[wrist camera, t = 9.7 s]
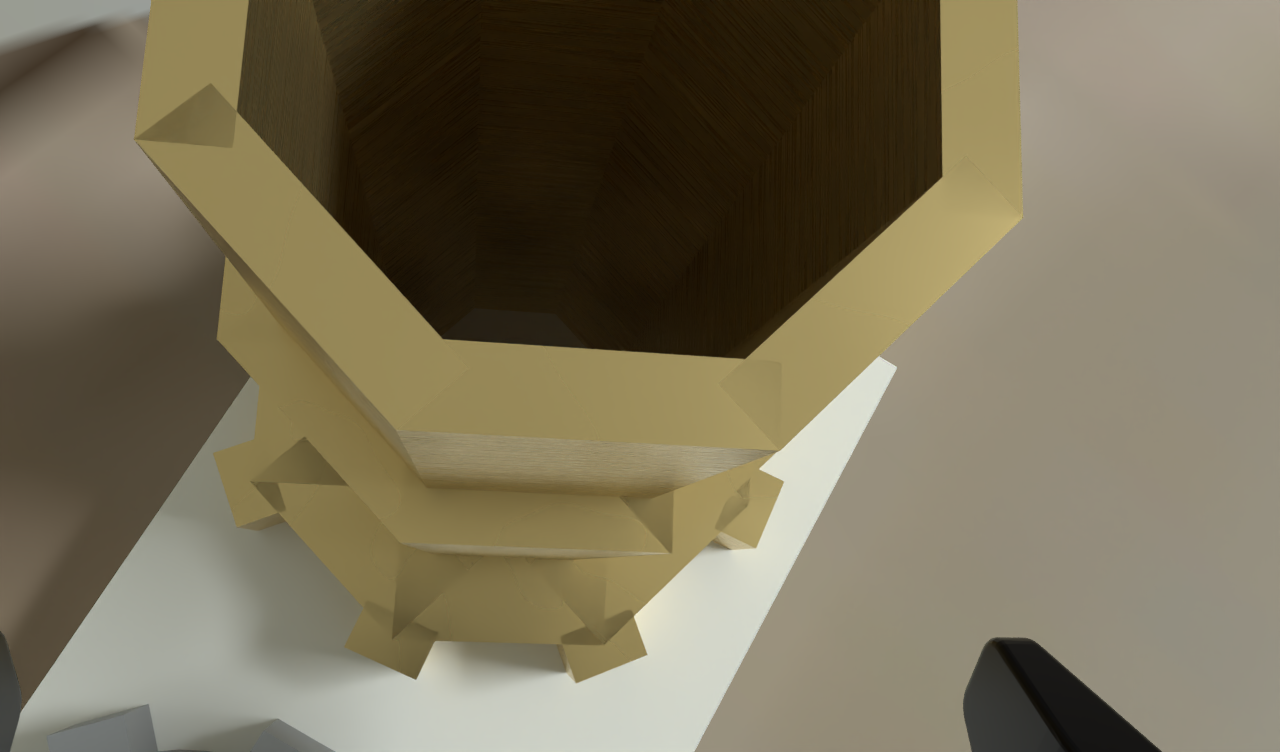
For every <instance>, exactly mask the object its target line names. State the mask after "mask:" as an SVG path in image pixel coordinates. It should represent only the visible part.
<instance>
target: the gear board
mask: <svg viewBox="0 0 1280 752" xmlns="http://www.w3.org/2000/svg"><path fill="white" fill-rule="evenodd" d="M441 338H442V339H448V340H463V341H478V342H493V343H508V344H523V345H539V346H554V347H569V348H584V349H587V348H586V347H585V346H584V345H583V344H582V343H581V341H580V340H579V339H578V338H577V337H576V336H575V335H574V334H573V333H572V332H571V330H570V329H569V328H568V327H567V326H566V325H565V324H564V323H563V322H562V321H561V319H560V318H559V317H558V316H557V315H556V314H551V313H536V312H522V311H508V310H494V309H479V308H474V309H473V310H472V311H471V312H469V313H468V314H467V315H466V316H465V317H463V318H462V319H461V320H460V321H459V322H457V323H456V324H455V325H454V326H453V327H452V328H450V329H449V330H448V331H447V332H446V333H444V334H443V335H442V336H441ZM896 369H897V367H896V366H894V365H892V364H891V363H889V362H888V361H886V360H884V359H883V358H881V357H879V356H878V357H877V358H876V359H875V360H874V361H873V362H872V363H871V364H870V365H869V366H868V367H867V368H866V369H865V370H864V371H863V372H862V373H861V374H860V375H859V376H858V377H857V378H856V379H854V380H853V381H852V382H851V383H850V384H849V385H848V386H847V387H846V388H845V389H844V390H843V391H842V392H841V393H840V394H839V395H838V396H837V397H836V398H835V399H834V400H833V401H832V402H831V403H829V404H828V405H827V406H826V407H825V408H824V409H823V410H822V411H821V412H820V413H819V414H818V415H817V416H816V417H815V418H814V419H813V420H812V421H811V422H810V423H809V424H808V425H807V426H806V427H804V428H803V429H802V430H801V431H800V432H799V433H798V434H797V435H796V436H795V437H794V438H793V439H792V440H791V441H790V442H789V443H788V444H787V445H786V446H785V447H784V448H783V449H782V450H781V451H779V452H776V453H775V454H774V455H773V456H772V457H771V458H770V459H769V460H768V461H767V462H766V463H765V464H764V465H763V466H762V467H761V468H760V469H759V470H762V471H764V472H766V473H768V474H770V475H772V476H774V477H776V478H778V479H780V480H782V481H784V484H783V486H782V488H781V491H780V493H779V495H778V498H777V500H776V503H775V505H774V507H773V510H772V512H771V514H770V517H769V519H768V521H767V524H766V526H765V529H764V531H763V533H762V536H761V538H760V540H759V543H758V545H757V547H756V548H755V549H739V550H730V549H728V548H726V547H724V546H722V545H720V544H717V543H715V542H713V541H711V542H710V543H709V544H708V545H707V546H706V547H705V548H704V549H703V550H702V551H701V552H700V553H699V554H698V555H697V556H696V557H695V558H694V559H693V560H691V561H690V562H689V563H688V564H687V565H686V566H685V567H684V568H683V569H682V570H681V571H680V572H679V573H678V574H677V575H676V576H675V577H674V578H673V579H672V580H671V581H670V582H669V583H668V584H667V585H666V586H665V587H664V588H663V589H662V590H660V591H659V592H658V593H657V594H656V595H655V596H654V597H653V598H652V599H651V600H650V601H649V602H648V603H647V604H646V605H645V606H644V607H643V608H642V609H641V610H640V611H639V612H638V613H637V614H636V615H635V616H634V618H635V621H636V624H637V627H638V630H639V632H640V635H641V638H642V641H643V643H644V646H645V649H646V652H647V655H646V656H644V657H641V658H639V659H636V660H634V661H631V662H629V663H626V664H624V665H621V666H619V667H616V668H614V669H611V670H609V671H606V672H604V673H601V674H599V675H596V676H594V677H591V678H589V679H586V680H584V681H581V682H579V683H575V682H574V681H573V680H572V679H571V677H570V676H569V675H568V674H567V673H566V670H565V668H564V665H563V662H562V659H561V656H560V653H559V651H558V648H557V645H556V644H530V643H493V642H456V641H435V642H434V644H433V646H432V648H431V650H430V652H429V654H428V656H427V659H426V661H425V663H424V665H423V667H422V669H421V671H420V673H419V675H418V677H417V679H416V680H415V679H413V678H411V677H408V676H406V675H404V674H402V673H400V672H397V671H395V670H393V669H391V668H389V667H386V666H384V665H382V664H380V663H378V662H375V661H373V660H371V659H369V658H367V657H364V656H362V655H360V654H358V653H356V652H353V651H351V650H349V649H347V648H345V647H344V646H345V644H346V642H347V640H348V638H349V636H350V634H351V632H352V630H353V628H354V626H355V624H356V622H357V620H358V618H359V616H360V614H361V612H362V610H363V607H362V606H361V605H360V604H359V603H358V601H357V600H356V599H355V598H354V597H353V596H352V595H351V594H350V592H349V591H348V590H347V589H346V588H345V587H344V586H343V585H342V584H341V582H340V581H339V580H338V579H337V578H336V577H335V576H334V575H333V574H332V572H331V571H330V570H329V569H328V568H327V567H326V566H325V565H324V563H323V562H322V561H321V560H320V559H319V558H318V557H317V556H316V555H315V553H314V552H313V551H312V550H311V549H310V548H309V547H308V546H307V545H306V543H305V542H304V541H303V540H302V539H301V538H300V537H299V536H298V534H297V533H296V532H295V531H294V530H293V529H292V528H291V527H290V526H289V524H288V523H287V522H286V521H285V522H282V523H280V524H277V525H274V526H271V527H268V528H265V529H262V530H259V531H256V530H250V529H244V528H238V527H236V524H235V521H234V517H233V514H232V511H231V508H230V505H229V502H228V499H227V496H226V493H225V489H224V486H223V483H222V480H221V477H220V474H219V471H218V468H217V465H216V461H215V458H214V455H213V453H214V452H217V451H220V450H223V449H226V448H229V447H232V446H235V445H238V444H241V443H244V442H247V441H251V440H254V435H255V425H256V415H257V405H258V395H259V385H258V384H257V383H256V382H255V381H254V380H253V378H252V377H250V378H249V379H248V381H247V382H246V384H245V385H244V387H243V388H242V390H241V391H240V393H239V394H238V396H237V397H236V398H235V400H234V401H233V403H232V404H231V406H230V407H229V409H228V410H227V412H226V413H225V415H224V416H223V417H222V419H221V420H220V422H219V423H218V425H217V426H216V428H215V429H214V431H213V432H212V434H211V435H210V436H209V438H208V439H207V441H206V442H205V444H204V445H203V447H202V448H201V450H200V451H199V452H198V454H197V455H196V457H195V458H194V460H193V461H192V463H191V464H190V466H189V467H188V469H187V470H186V471H185V473H184V474H183V476H182V477H181V479H180V480H179V482H178V483H177V485H176V486H175V488H174V489H173V490H172V492H171V493H170V495H169V496H168V498H167V499H166V501H165V502H164V504H163V505H162V507H161V508H160V509H159V511H158V512H157V514H156V515H155V517H154V518H153V520H152V521H151V523H150V524H149V526H148V527H147V528H146V530H145V531H144V533H143V534H142V536H141V537H140V539H139V540H138V542H137V543H136V545H135V546H134V547H133V549H132V550H131V552H130V553H129V555H128V556H127V558H126V559H125V561H124V562H123V564H122V565H121V566H120V568H119V569H118V571H117V572H116V574H115V575H114V577H113V578H112V580H111V581H110V583H109V584H108V585H107V587H106V588H105V590H104V591H103V593H102V594H101V596H100V597H99V599H98V600H97V602H96V603H95V604H94V606H93V607H92V609H91V610H90V612H89V613H88V615H87V616H86V618H85V619H84V621H83V622H82V623H81V625H80V626H79V628H78V629H77V631H76V632H75V634H74V635H73V637H72V638H71V640H70V641H69V642H68V644H67V645H66V647H65V648H64V650H63V651H62V653H61V654H60V656H59V657H58V659H57V660H56V661H55V663H54V664H53V666H52V667H51V669H50V670H49V672H48V673H47V675H46V676H45V678H44V679H43V680H42V682H41V683H40V685H39V686H38V688H37V689H36V691H35V692H34V694H33V695H32V696H31V698H30V699H29V701H28V702H27V704H26V705H25V707H24V708H23V710H22V711H21V713H20V717H19V722H18V725H17V729H16V732H15V736H14V739H13V743H12V746H11V750H10V752H694V751H695V749H696V747H697V745H698V743H699V741H700V740H701V738H702V736H703V734H704V732H705V730H706V728H707V726H708V724H709V723H710V721H711V719H712V717H713V715H714V713H715V711H716V709H717V707H718V706H719V704H720V702H721V700H722V698H723V696H724V694H725V692H726V690H727V689H728V687H729V685H730V683H731V681H732V679H733V677H734V675H735V673H736V672H737V670H738V668H739V666H740V664H741V662H742V660H743V658H744V656H745V654H746V653H747V651H748V649H749V647H750V645H751V643H752V641H753V639H754V637H755V636H756V634H757V632H758V630H759V628H760V626H761V624H762V622H763V620H764V619H765V617H766V615H767V613H768V611H769V609H770V607H771V605H772V603H773V602H774V600H775V598H776V596H777V594H778V592H779V590H780V588H781V586H782V585H783V583H784V581H785V579H786V577H787V575H788V573H789V571H790V569H791V567H792V566H793V564H794V562H795V560H796V558H797V556H798V554H799V552H800V550H801V549H802V547H803V545H804V543H805V541H806V539H807V537H808V535H809V533H810V532H811V530H812V528H813V526H814V524H815V522H816V520H817V518H818V516H819V515H820V513H821V511H822V509H823V507H824V505H825V503H826V501H827V499H828V498H829V496H830V494H831V492H832V490H833V488H834V486H835V484H836V482H837V480H838V479H839V477H840V475H841V473H842V471H843V469H844V467H845V465H846V463H847V462H848V460H849V458H850V456H851V454H852V452H853V450H854V448H855V446H856V445H857V443H858V441H859V439H860V437H861V435H862V433H863V431H864V429H865V428H866V426H867V424H868V422H869V420H870V418H871V416H872V414H873V412H874V411H875V409H876V407H877V405H878V403H879V401H880V399H881V397H882V395H883V394H884V392H885V390H886V388H887V386H888V384H889V382H890V380H891V378H892V376H893V375H894V373H895V371H896Z"/></svg>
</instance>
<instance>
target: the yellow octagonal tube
mask: <svg viewBox="0 0 1280 752" xmlns="http://www.w3.org/2000/svg"><path fill="white" fill-rule="evenodd" d="M134 140H135V141H136V143H137V144H138V145H139V146H140V148H141V149H142V150H143V152H144V153H145V154H146V155H147V157H148V158H149V159H150V160H151V162H152V163H153V164H154V166H155V167H156V168H157V169H158V171H159V172H160V173H161V174H162V176H163V177H164V178H165V180H166V181H167V182H168V183H169V185H170V186H171V187H172V189H173V190H174V191H175V192H176V194H177V195H178V196H179V197H180V199H181V200H182V201H183V203H184V204H185V205H186V206H187V208H188V209H189V210H190V211H191V213H192V214H193V215H194V217H195V218H196V219H197V220H198V222H199V223H200V224H201V225H202V227H203V228H204V229H205V231H206V232H207V233H208V234H209V236H210V237H211V238H212V240H213V241H214V242H215V243H216V245H217V246H218V247H219V248H220V250H221V251H222V252H223V254H224V255H225V256H226V257H225V267H224V276H223V285H222V295H221V304H220V314H219V323H218V332H217V340H218V341H219V342H220V343H221V344H222V345H223V346H224V347H225V348H226V350H227V351H228V352H229V353H230V354H231V355H232V356H233V357H234V358H235V360H236V361H237V362H238V363H239V364H240V365H241V366H242V367H243V368H244V370H245V371H246V372H247V373H248V374H249V375H250V376H251V377H252V378H253V380H254V381H255V382H256V383H257V384H258V385H259V395H258V405H257V415H256V425H255V435H254V440H251V441H247V442H244V443H241V444H238V445H235V446H232V447H229V448H226V449H223V450H220V451H217V452H214V453H213V455H214V458H215V461H216V465H217V468H218V471H219V474H220V477H221V480H222V483H223V486H224V489H225V493H226V496H227V499H228V502H229V505H230V508H231V511H232V514H233V517H234V521H235V524H236V527H238V528H244V529H250V530H256V531H259V530H262V529H265V528H268V527H271V526H274V525H277V524H280V523H282V522H285V521H286V522H287V523H288V524H289V526H290V527H291V528H292V529H293V530H294V531H295V532H296V533H297V534H298V536H299V537H300V538H301V539H302V540H303V541H304V542H305V543H306V545H307V546H308V547H309V548H310V549H311V550H312V551H313V552H314V553H315V555H316V556H317V557H318V558H319V559H320V560H321V561H322V562H323V563H324V565H325V566H326V567H327V568H328V569H329V570H330V571H331V572H332V574H333V575H334V576H335V577H336V578H337V579H338V580H339V581H340V582H341V584H342V585H343V586H344V587H345V588H346V589H347V590H348V591H349V592H350V594H351V595H352V596H353V597H354V598H355V599H356V600H357V601H358V603H359V604H360V605H361V606H362V607H363V610H362V612H361V614H360V616H359V618H358V620H357V622H356V624H355V626H354V628H353V630H352V632H351V634H350V636H349V638H348V640H347V642H346V644H345V646H344V647H345V648H347V649H349V650H351V651H353V652H356V653H358V654H360V655H362V656H364V657H367V658H369V659H371V660H373V661H375V662H378V663H380V664H382V665H384V666H386V667H389V668H391V669H393V670H395V671H397V672H400V673H402V674H404V675H406V676H408V677H411V678H413V679H415V680H416V679H417V677H418V675H419V673H420V671H421V669H422V667H423V665H424V663H425V661H426V659H427V656H428V654H429V652H430V650H431V648H432V646H433V644H434V642H435V641H456V642H493V643H530V644H556V645H557V648H558V651H559V653H560V656H561V659H562V662H563V665H564V668H565V670H566V673H567V674H568V675H569V676H570V677H571V679H572V680H573V681H574V682H575V683H579V682H581V681H584V680H586V679H589V678H591V677H594V676H596V675H599V674H601V673H604V672H606V671H609V670H611V669H614V668H616V667H619V666H621V665H624V664H626V663H629V662H631V661H634V660H636V659H639V658H641V657H644V656H646V655H647V652H646V649H645V646H644V643H643V641H642V638H641V635H640V632H639V630H638V627H637V624H636V621H635V618H634V616H635V615H636V614H637V613H638V612H639V611H640V610H641V609H642V608H643V607H644V606H645V605H646V604H647V603H648V602H649V601H650V600H651V599H652V598H653V597H654V596H655V595H656V594H657V593H658V592H659V591H660V590H662V589H663V588H664V587H665V586H666V585H667V584H668V583H669V582H670V581H671V580H672V579H673V578H674V577H675V576H676V575H677V574H678V573H679V572H680V571H681V570H682V569H683V568H684V567H685V566H686V565H687V564H688V563H689V562H690V561H691V560H693V559H694V558H695V557H696V556H697V555H698V554H699V553H700V552H701V551H702V550H703V549H704V548H705V547H706V546H707V545H708V544H709V543H710V542H711V541H713V542H715V543H717V544H720V545H722V546H724V547H726V548H728V549H730V550H739V549H755V548H756V547H757V545H758V543H759V540H760V538H761V536H762V533H763V531H764V529H765V526H766V524H767V521H768V519H769V517H770V514H771V512H772V510H773V507H774V505H775V503H776V500H777V498H778V495H779V493H780V491H781V488H782V486H783V484H784V481H782V480H780V479H778V478H776V477H774V476H772V475H770V474H768V473H766V472H764V471H762V470H759V469H760V468H761V467H762V466H763V465H764V464H765V463H766V462H767V461H768V460H769V459H770V458H771V457H772V456H773V455H774V454H775V453H776V452H779V451H781V450H782V449H783V448H784V447H785V446H786V445H787V444H788V443H789V442H790V441H791V440H792V439H793V438H794V437H795V436H796V435H797V434H798V433H799V432H800V431H801V430H802V429H803V428H804V427H806V426H807V425H808V424H809V423H810V422H811V421H812V420H813V419H814V418H815V417H816V416H817V415H818V414H819V413H820V412H821V411H822V410H823V409H824V408H825V407H826V406H827V405H828V404H829V403H831V402H832V401H833V400H834V399H835V398H836V397H837V396H838V395H839V394H840V393H841V392H842V391H843V390H844V389H845V388H846V387H847V386H848V385H849V384H850V383H851V382H852V381H853V380H854V379H856V378H857V377H858V376H859V375H860V374H861V373H862V372H863V371H864V370H865V369H866V368H867V367H868V366H869V365H870V364H871V363H872V362H873V361H874V360H875V359H876V358H877V357H878V356H879V355H881V354H882V353H883V352H884V351H885V350H886V349H887V348H888V347H889V346H890V345H891V344H892V343H893V342H894V341H895V340H896V339H897V338H898V337H899V336H900V335H901V334H902V333H903V332H904V331H906V330H907V329H908V328H909V327H910V326H911V325H912V324H913V323H914V322H915V321H916V320H917V319H918V318H919V317H920V316H921V315H922V314H923V313H924V312H925V311H926V310H927V309H928V308H929V307H931V306H932V305H933V304H934V303H935V302H936V301H937V300H938V299H939V298H940V297H941V296H942V295H943V294H944V293H945V292H946V291H947V290H948V289H949V288H950V287H951V286H952V285H953V284H954V283H956V282H957V281H958V280H959V279H960V278H961V277H962V276H963V275H964V274H965V273H966V272H967V271H968V270H969V269H970V268H971V267H972V266H973V265H974V264H975V263H976V262H977V261H978V260H979V259H981V258H982V257H983V256H984V255H985V254H986V253H987V252H988V251H989V250H990V249H991V248H992V247H993V246H994V245H995V244H996V243H997V242H998V241H999V240H1000V239H1001V238H1002V237H1003V236H1005V235H1006V234H1007V233H1008V232H1009V231H1010V230H1011V229H1012V228H1013V227H1014V226H1015V225H1016V224H1017V223H1018V222H1019V221H1020V220H1021V219H1022V218H1023V200H1022V162H1021V125H1020V87H1019V49H1018V12H1017V0H151V7H150V16H149V24H148V32H147V40H146V48H145V56H144V64H143V72H142V80H141V88H140V96H139V104H138V112H137V120H136V128H135V136H134ZM474 308H479V309H494V310H508V311H522V312H536V313H551V314H556V315H557V316H558V317H559V318H560V319H561V321H562V322H563V323H564V324H565V325H566V326H567V327H568V328H569V329H570V330H571V332H572V333H573V334H574V335H575V336H576V337H577V338H578V339H579V340H580V341H581V343H582V344H583V345H584V346H585V347H586V348H587V349H584V348H569V347H554V346H539V345H523V344H508V343H493V342H478V341H463V340H448V339H442V338H441V336H442V335H443V334H444V333H446V332H447V331H448V330H449V329H450V328H452V327H453V326H454V325H455V324H456V323H457V322H459V321H460V320H461V319H462V318H463V317H465V316H466V315H467V314H468V313H469V312H471V311H472V310H473V309H474Z"/></svg>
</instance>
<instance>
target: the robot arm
mask: <svg viewBox="0 0 1280 752" xmlns="http://www.w3.org/2000/svg"><path fill="white" fill-rule="evenodd" d="M21 701H22V699H21V690H20V686H19V682H18V679H17V675H16V672H15V668H14V665H13V661H12V658H11V655H10V651H9V648H8V644H7V641H6V639H5V636H4V635H3V634H2V633H1V632H0V752H10V750H11V746H12V743H13V739H14V736H15V732H16V729H17V725H18V722H19V717H20V712H21ZM963 711H964V718H965V723H966V727H967V732H968V736H969V741H970V745H971V750H972V752H1162V751H1161V750H1160V749H1158V748H1157V747H1156V746H1155V745H1154V744H1153V743H1152V742H1150V741H1149V740H1148V739H1147V738H1146V737H1145V736H1144V735H1142V734H1141V733H1140V732H1139V731H1138V730H1137V729H1135V728H1134V727H1133V726H1132V725H1131V724H1130V723H1129V722H1127V721H1126V720H1125V719H1124V718H1123V717H1122V716H1121V715H1119V714H1118V713H1117V712H1116V711H1115V710H1114V709H1113V708H1111V707H1110V706H1109V705H1108V704H1107V703H1106V702H1104V701H1103V700H1102V699H1101V698H1100V697H1099V696H1098V695H1096V694H1095V693H1094V692H1093V691H1092V690H1091V689H1090V688H1088V687H1087V686H1086V685H1085V684H1084V683H1083V682H1082V681H1080V680H1079V679H1078V678H1077V677H1076V676H1075V675H1073V674H1072V673H1071V672H1070V671H1069V670H1068V669H1067V668H1065V667H1064V666H1063V665H1062V664H1061V663H1060V662H1059V661H1057V660H1056V659H1055V658H1054V657H1053V656H1052V655H1051V654H1049V653H1048V652H1047V651H1046V650H1045V649H1044V648H1042V647H1041V646H1040V645H1039V644H1038V643H1036V642H1035V641H1033V640H1031V639H1028V638H992V639H991V640H989V641H988V642H987V643H986V644H985V646H984V648H983V650H982V652H981V655H980V657H979V659H978V662H977V664H976V666H975V669H974V671H973V674H972V676H971V678H970V681H969V683H968V685H967V688H966V690H965V694H964V700H963Z"/></svg>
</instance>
